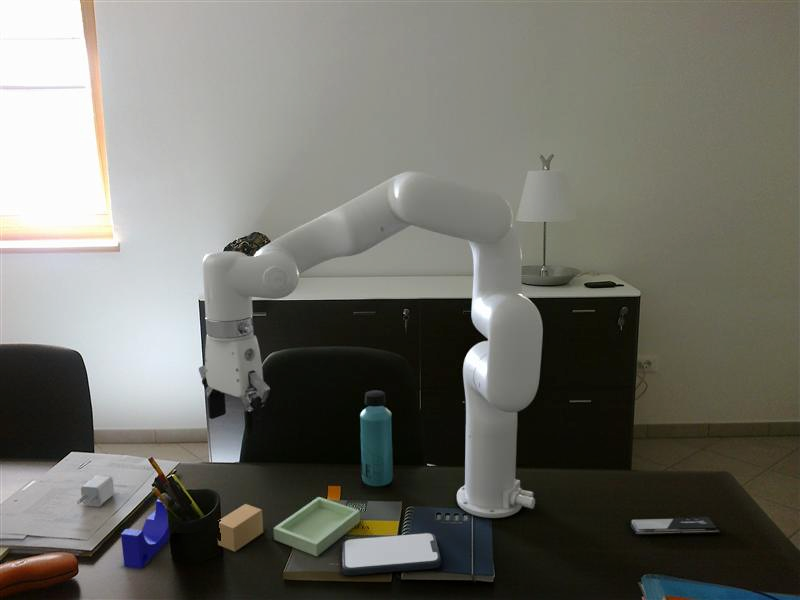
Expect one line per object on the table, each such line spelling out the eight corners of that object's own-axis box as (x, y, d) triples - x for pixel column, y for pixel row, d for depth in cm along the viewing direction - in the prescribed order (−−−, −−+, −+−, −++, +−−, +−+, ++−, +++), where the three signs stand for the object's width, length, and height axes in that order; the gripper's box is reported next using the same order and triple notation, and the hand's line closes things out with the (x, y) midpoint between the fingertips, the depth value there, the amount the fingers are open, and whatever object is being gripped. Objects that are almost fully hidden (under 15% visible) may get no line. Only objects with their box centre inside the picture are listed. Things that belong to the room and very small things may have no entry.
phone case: (342, 578, 108) (442, 570, 110) (342, 570, 108) (442, 561, 109) (342, 547, 117) (434, 539, 118) (341, 538, 116) (434, 531, 118)
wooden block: (263, 532, 121) (262, 509, 120) (234, 552, 115) (233, 528, 114) (247, 526, 123) (245, 503, 122) (218, 545, 117) (216, 521, 116)
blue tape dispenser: (155, 526, 123) (152, 496, 122) (178, 528, 122) (175, 498, 121) (116, 565, 112) (112, 532, 110) (141, 568, 111) (137, 535, 110)
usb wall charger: (114, 495, 134) (112, 476, 133) (93, 513, 128) (90, 494, 127) (96, 493, 135) (94, 475, 134) (74, 512, 128) (71, 492, 127)
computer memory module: (636, 531, 118) (628, 518, 122) (636, 536, 118) (628, 523, 122) (720, 529, 119) (709, 516, 122) (719, 534, 119) (709, 521, 123)
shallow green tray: (360, 521, 124) (360, 510, 124) (316, 556, 114) (316, 544, 113) (319, 507, 129) (318, 496, 129) (273, 539, 119) (273, 528, 118)
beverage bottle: (399, 483, 138) (398, 390, 134) (381, 497, 133) (379, 401, 128) (373, 475, 141) (371, 384, 137) (354, 488, 136) (351, 394, 132)
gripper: (282, 330, 110) (286, 429, 114) (216, 314, 120) (221, 405, 124) (245, 340, 104) (251, 444, 108) (179, 323, 115) (186, 417, 118)
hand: (235, 423), depth 116 cm, fingers open, 9 cm apart
